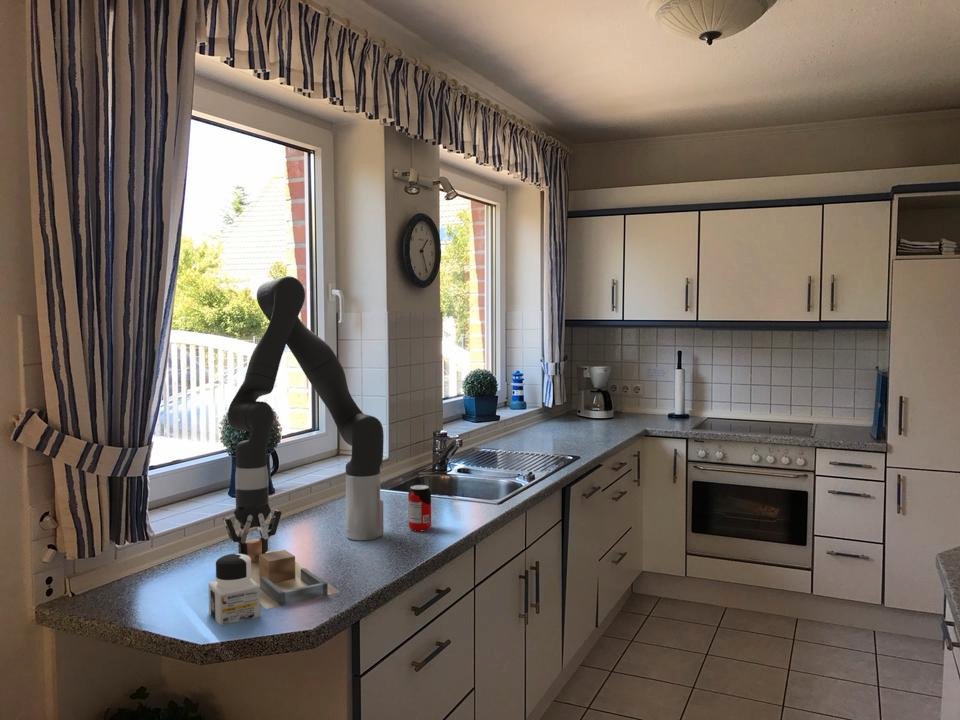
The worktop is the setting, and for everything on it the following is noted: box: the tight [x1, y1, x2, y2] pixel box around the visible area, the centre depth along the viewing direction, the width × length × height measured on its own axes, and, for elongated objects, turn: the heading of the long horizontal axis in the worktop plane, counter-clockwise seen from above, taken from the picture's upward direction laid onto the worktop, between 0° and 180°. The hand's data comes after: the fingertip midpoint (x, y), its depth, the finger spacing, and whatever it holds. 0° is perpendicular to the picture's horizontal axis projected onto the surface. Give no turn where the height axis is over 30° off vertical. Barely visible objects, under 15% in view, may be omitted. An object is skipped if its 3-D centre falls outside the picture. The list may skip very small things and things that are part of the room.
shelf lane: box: [213, 549, 341, 610], centre depth 171 cm, size 16×36×4 cm, turn 35°
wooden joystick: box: [246, 538, 296, 583], centre depth 175 cm, size 6×20×5 cm, turn 36°
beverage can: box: [407, 484, 432, 532], centre depth 214 cm, size 6×6×12 cm
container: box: [208, 553, 261, 626], centre depth 149 cm, size 8×8×13 cm
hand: (253, 555), depth 182 cm, fingers closed on wooden joystick, 4 cm apart
